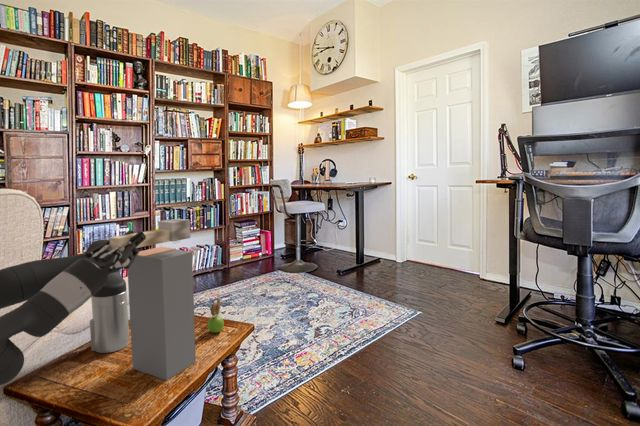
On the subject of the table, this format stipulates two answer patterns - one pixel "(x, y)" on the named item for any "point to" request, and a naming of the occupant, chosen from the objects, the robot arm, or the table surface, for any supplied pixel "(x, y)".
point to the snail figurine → (215, 318)
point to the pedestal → (162, 311)
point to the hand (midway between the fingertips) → (137, 234)
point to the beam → (158, 234)
